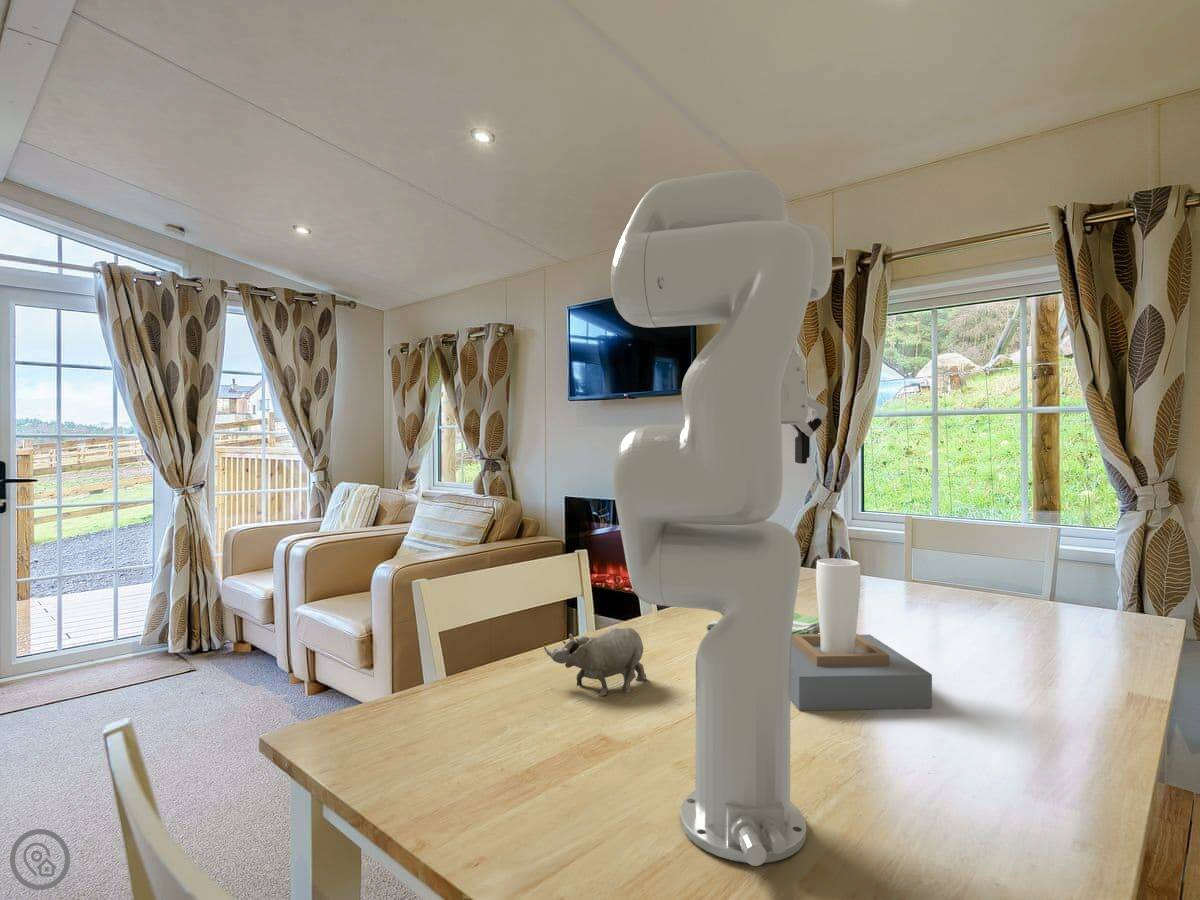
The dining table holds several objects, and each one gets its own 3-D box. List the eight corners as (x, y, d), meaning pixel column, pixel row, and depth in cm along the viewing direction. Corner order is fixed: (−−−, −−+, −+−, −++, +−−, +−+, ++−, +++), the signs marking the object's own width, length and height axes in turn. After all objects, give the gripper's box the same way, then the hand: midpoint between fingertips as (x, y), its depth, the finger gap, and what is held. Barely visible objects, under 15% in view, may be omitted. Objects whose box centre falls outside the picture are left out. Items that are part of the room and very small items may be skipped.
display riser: (931, 708, 97) (932, 664, 96) (799, 710, 96) (799, 666, 95) (869, 662, 116) (869, 626, 116) (759, 664, 116) (759, 627, 115)
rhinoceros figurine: (673, 676, 102) (617, 600, 102) (605, 735, 100) (547, 657, 99) (659, 664, 110) (607, 593, 109) (595, 718, 107) (541, 646, 107)
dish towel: (703, 634, 135) (703, 617, 135) (769, 614, 150) (769, 599, 150) (774, 654, 122) (774, 635, 122) (838, 631, 137) (838, 614, 137)
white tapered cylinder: (863, 662, 102) (864, 566, 102) (818, 659, 103) (818, 564, 103) (855, 648, 108) (856, 558, 108) (813, 646, 110) (813, 557, 110)
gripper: (717, 344, 93) (717, 464, 93) (836, 345, 93) (836, 464, 94) (706, 351, 100) (706, 462, 100) (817, 352, 101) (816, 462, 101)
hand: (769, 463), depth 97 cm, fingers open, 9 cm apart
